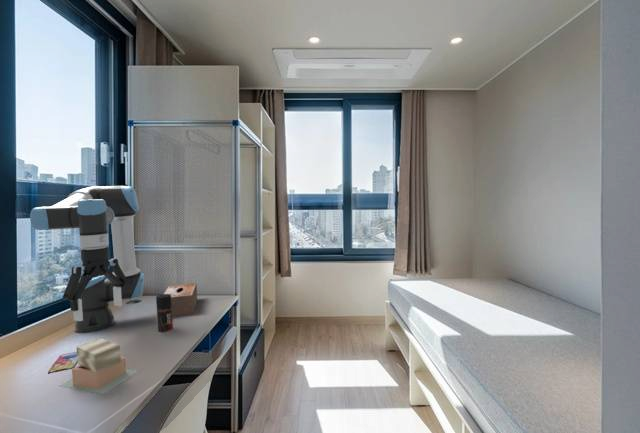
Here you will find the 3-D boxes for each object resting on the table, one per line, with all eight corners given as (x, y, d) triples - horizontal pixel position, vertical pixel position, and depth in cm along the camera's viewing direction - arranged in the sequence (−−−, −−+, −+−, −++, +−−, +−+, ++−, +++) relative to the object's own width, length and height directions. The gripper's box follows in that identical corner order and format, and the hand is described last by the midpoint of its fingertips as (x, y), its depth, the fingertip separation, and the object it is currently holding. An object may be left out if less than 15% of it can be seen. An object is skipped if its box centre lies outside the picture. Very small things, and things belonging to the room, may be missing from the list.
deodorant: (167, 332, 140) (165, 298, 139) (154, 331, 141) (152, 297, 141) (175, 327, 146) (173, 294, 145) (164, 326, 147) (162, 293, 146)
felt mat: (58, 387, 100) (58, 385, 100) (98, 366, 112) (98, 364, 112) (103, 395, 95) (103, 393, 95) (139, 372, 107) (139, 371, 107)
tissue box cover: (170, 303, 183) (169, 285, 182) (197, 300, 187) (196, 283, 186) (161, 318, 158) (160, 298, 158) (193, 314, 162) (192, 295, 162)
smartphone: (84, 350, 124) (74, 367, 110) (84, 352, 124) (74, 370, 110) (60, 354, 121) (46, 373, 107) (60, 357, 121) (47, 375, 107)
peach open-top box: (72, 384, 100) (71, 369, 100) (102, 368, 110) (101, 354, 109) (97, 389, 97) (96, 372, 97) (126, 372, 107) (125, 357, 106)
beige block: (77, 363, 103) (76, 346, 103) (101, 354, 109) (100, 338, 109) (96, 372, 97) (95, 354, 97) (120, 362, 103) (119, 345, 103)
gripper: (62, 254, 91) (68, 329, 92) (136, 242, 114) (140, 301, 116) (43, 254, 93) (49, 326, 94) (120, 242, 117) (123, 299, 118)
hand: (99, 312), depth 105 cm, fingers open, 13 cm apart
